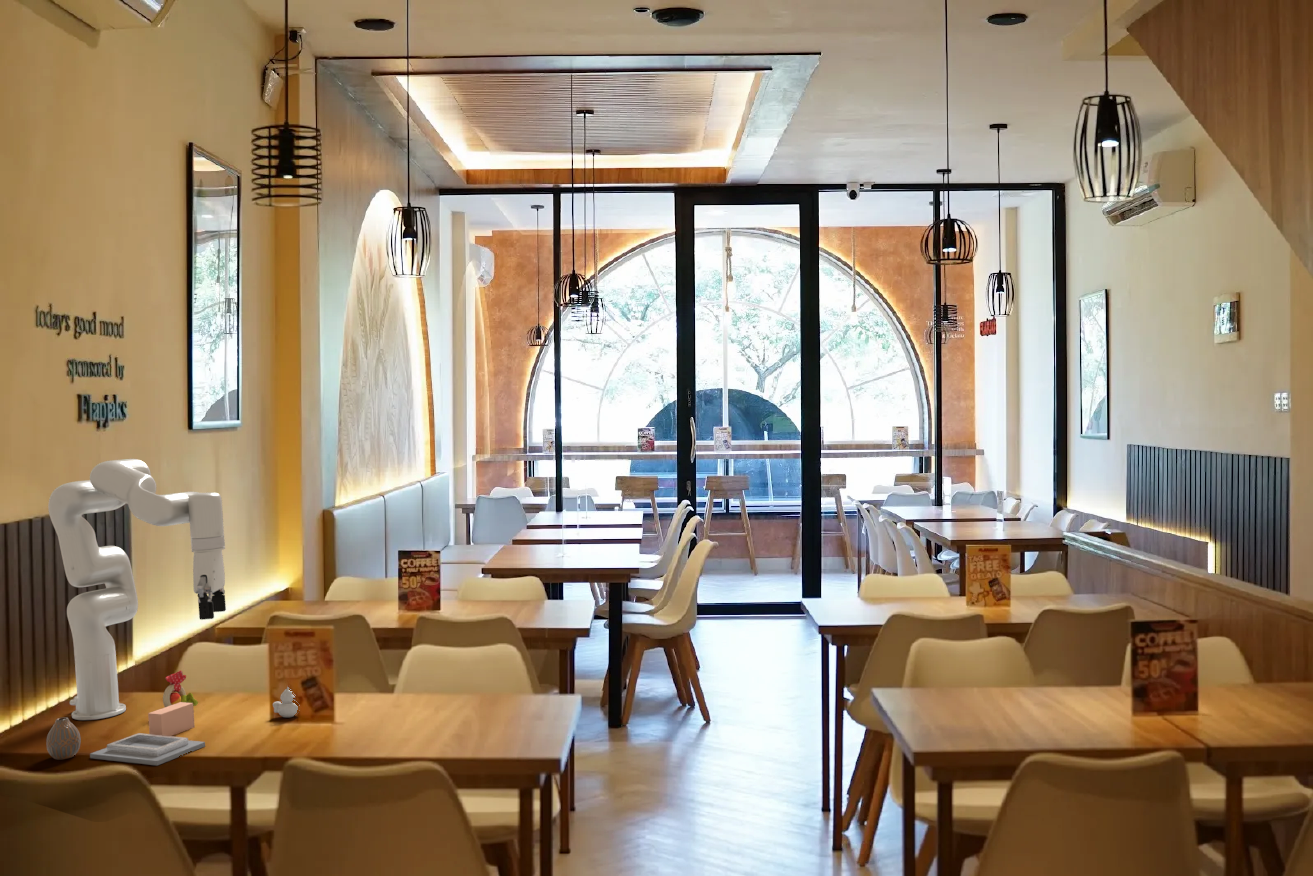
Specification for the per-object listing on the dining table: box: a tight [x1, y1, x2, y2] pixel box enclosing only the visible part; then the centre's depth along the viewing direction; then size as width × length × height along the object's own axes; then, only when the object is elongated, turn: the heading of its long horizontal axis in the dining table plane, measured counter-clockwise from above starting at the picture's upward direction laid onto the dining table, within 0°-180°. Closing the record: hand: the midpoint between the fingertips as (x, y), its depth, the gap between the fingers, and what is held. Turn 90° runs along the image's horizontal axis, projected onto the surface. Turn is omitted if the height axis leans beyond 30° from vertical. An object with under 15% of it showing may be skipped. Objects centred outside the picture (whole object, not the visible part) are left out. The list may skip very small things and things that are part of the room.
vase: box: [46, 716, 82, 761], centre depth 265 cm, size 7×7×9 cm
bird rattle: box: [162, 670, 199, 708], centre depth 298 cm, size 6×11×9 cm
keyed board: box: [89, 732, 206, 766], centre depth 265 cm, size 20×14×2 cm
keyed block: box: [147, 702, 195, 736], centre depth 281 cm, size 4×10×6 cm, turn 157°
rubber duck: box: [272, 686, 298, 718], centre depth 290 cm, size 5×7×8 cm
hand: (213, 615), depth 282 cm, fingers open, 9 cm apart
